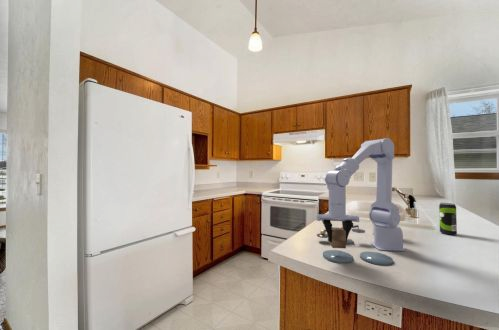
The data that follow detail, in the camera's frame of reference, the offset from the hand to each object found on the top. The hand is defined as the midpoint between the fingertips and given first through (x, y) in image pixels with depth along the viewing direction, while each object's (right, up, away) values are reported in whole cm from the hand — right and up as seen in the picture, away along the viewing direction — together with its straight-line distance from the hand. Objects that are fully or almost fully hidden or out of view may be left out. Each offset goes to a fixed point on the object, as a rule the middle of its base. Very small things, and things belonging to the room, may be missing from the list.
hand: (337, 241), depth 78 cm
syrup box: (+31, -7, +25) cm, 41 cm away
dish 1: (0, -6, 0) cm, 6 cm away
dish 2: (+13, -6, -2) cm, 14 cm away
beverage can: (+67, -7, +29) cm, 73 cm away
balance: (+8, -6, +16) cm, 19 cm away
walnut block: (0, -2, 0) cm, 2 cm away
